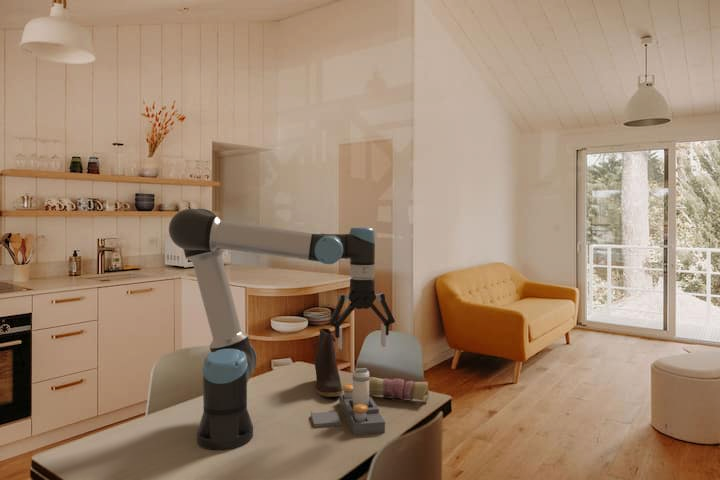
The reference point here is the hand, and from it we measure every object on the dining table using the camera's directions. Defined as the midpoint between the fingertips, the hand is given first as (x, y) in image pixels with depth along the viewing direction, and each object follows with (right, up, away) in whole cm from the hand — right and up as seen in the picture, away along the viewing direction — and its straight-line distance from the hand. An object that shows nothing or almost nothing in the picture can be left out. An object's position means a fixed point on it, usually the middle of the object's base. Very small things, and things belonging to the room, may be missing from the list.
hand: (361, 347), depth 153 cm
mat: (-11, -22, -2) cm, 24 cm away
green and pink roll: (+13, -21, +16) cm, 30 cm away
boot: (-12, -21, +25) cm, 35 cm away
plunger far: (-4, -20, +9) cm, 22 cm away
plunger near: (-1, -21, -8) cm, 22 cm away
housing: (0, -22, +1) cm, 22 cm away
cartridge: (0, -22, +1) cm, 22 cm away
